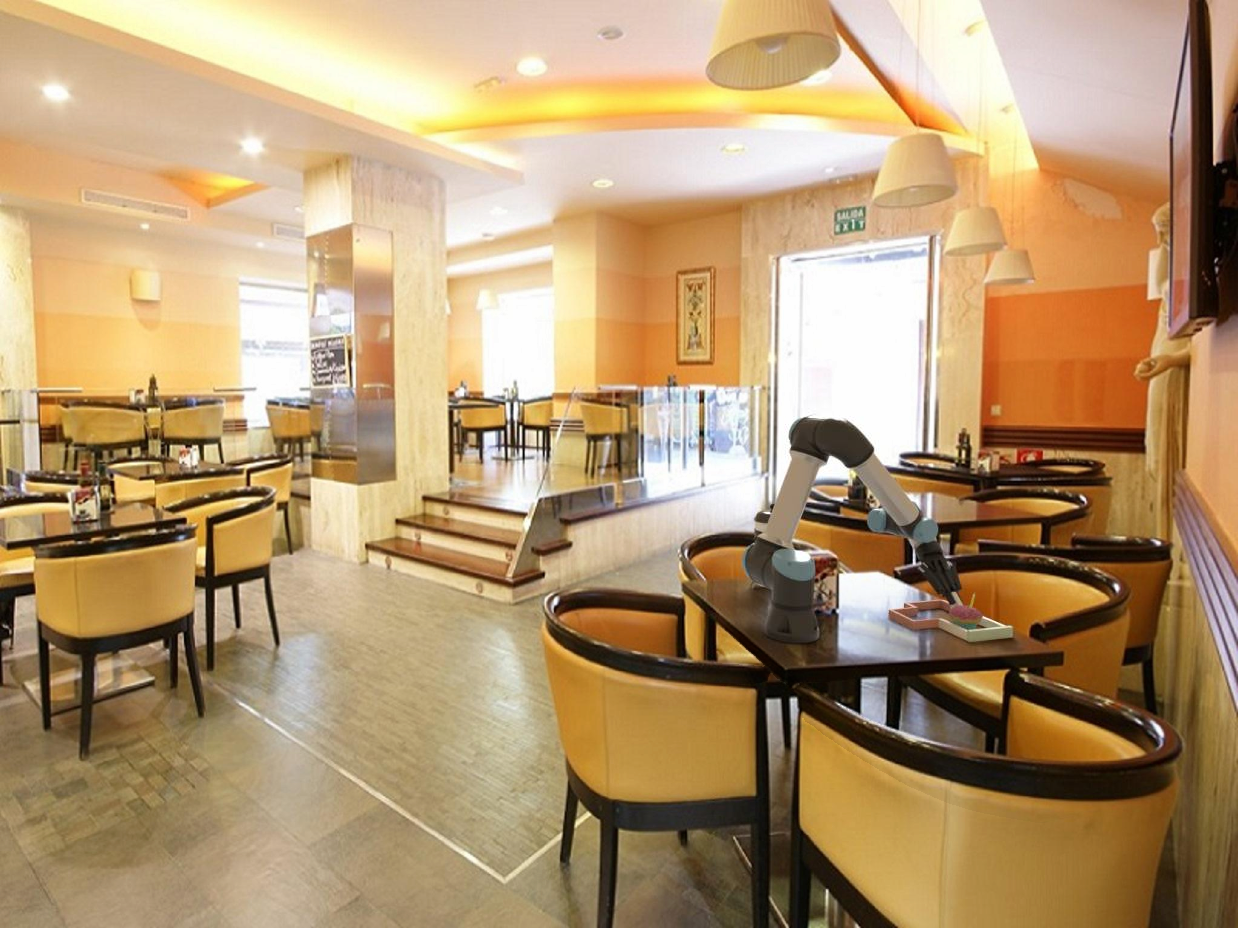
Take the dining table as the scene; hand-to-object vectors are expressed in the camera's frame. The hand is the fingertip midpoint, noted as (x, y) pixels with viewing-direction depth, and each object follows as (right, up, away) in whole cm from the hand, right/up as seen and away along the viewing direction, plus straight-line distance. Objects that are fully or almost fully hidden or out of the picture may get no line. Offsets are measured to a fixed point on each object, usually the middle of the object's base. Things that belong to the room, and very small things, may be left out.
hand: (961, 613), depth 204 cm
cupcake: (-1, -4, -4) cm, 6 cm away
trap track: (-5, -3, +1) cm, 6 cm away
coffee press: (-48, 0, +37) cm, 61 cm away
